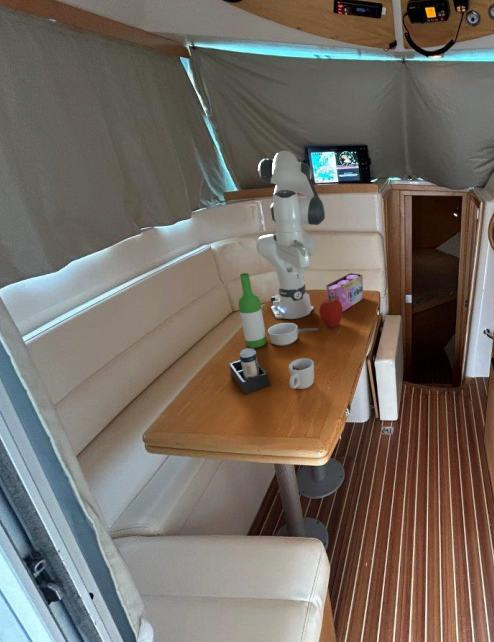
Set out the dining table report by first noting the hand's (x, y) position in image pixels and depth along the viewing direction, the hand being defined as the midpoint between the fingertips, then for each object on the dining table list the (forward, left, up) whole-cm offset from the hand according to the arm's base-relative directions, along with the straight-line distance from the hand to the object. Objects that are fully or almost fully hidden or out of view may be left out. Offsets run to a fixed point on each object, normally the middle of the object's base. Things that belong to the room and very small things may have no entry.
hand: (295, 275), depth 133 cm
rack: (+9, -23, -31) cm, 40 cm away
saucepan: (-9, 0, -31) cm, 32 cm away
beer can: (+12, -23, -30) cm, 40 cm away
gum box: (-30, +37, -31) cm, 57 cm away
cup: (+24, -12, -31) cm, 41 cm away
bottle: (-16, -13, -31) cm, 37 cm away
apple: (-12, +19, -31) cm, 38 cm away
